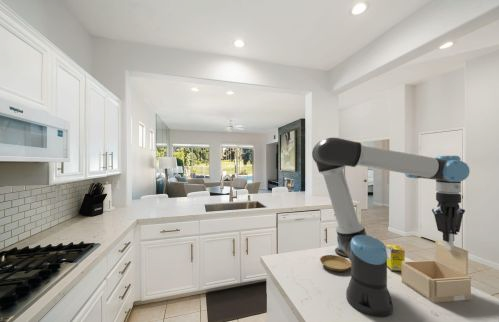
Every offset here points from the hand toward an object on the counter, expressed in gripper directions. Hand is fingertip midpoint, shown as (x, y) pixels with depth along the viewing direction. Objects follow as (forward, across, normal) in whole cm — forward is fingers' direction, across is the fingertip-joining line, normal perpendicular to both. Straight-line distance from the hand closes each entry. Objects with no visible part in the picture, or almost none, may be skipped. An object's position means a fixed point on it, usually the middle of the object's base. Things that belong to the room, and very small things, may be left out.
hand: (448, 248), depth 85 cm
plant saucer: (+18, -37, +24) cm, 47 cm away
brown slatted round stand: (+18, -22, +38) cm, 48 cm away
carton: (+17, -7, 0) cm, 18 cm away
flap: (+8, +1, 0) cm, 8 cm away
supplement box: (+17, -9, +18) cm, 26 cm away
